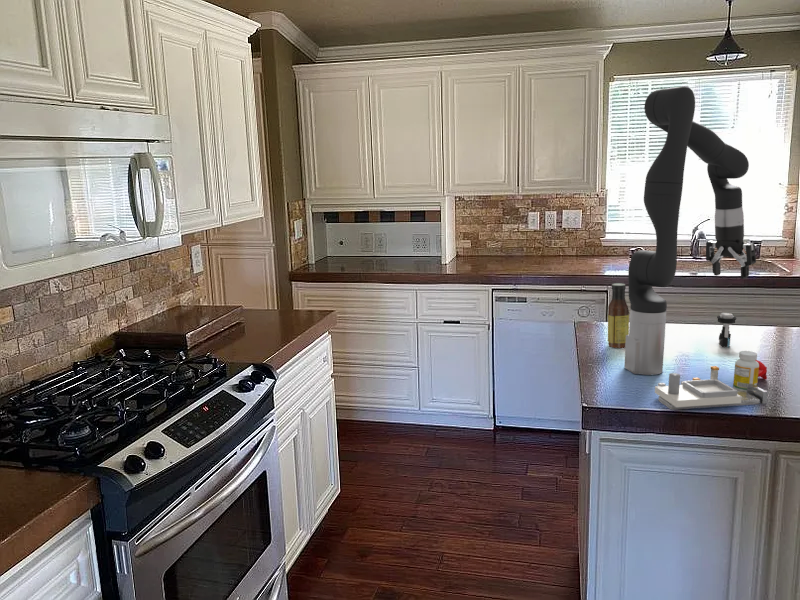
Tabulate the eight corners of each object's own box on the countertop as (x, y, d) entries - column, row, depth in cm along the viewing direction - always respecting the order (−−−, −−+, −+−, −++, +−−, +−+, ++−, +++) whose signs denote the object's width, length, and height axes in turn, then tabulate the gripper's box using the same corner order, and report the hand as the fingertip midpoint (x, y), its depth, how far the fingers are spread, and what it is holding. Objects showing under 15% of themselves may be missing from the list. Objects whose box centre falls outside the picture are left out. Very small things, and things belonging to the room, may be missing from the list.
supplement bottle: (739, 393, 164) (742, 356, 162) (728, 386, 169) (731, 350, 167) (761, 393, 164) (764, 355, 162) (750, 385, 169) (753, 349, 167)
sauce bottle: (631, 346, 207) (635, 283, 203) (622, 350, 202) (626, 286, 198) (612, 342, 211) (614, 281, 207) (602, 346, 207) (605, 284, 203)
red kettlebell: (753, 375, 167) (772, 361, 168) (735, 361, 172) (753, 348, 172) (755, 393, 172) (773, 380, 173) (737, 380, 177) (755, 367, 177)
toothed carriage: (676, 407, 152) (677, 381, 151) (652, 391, 163) (653, 367, 161) (741, 403, 154) (743, 378, 152) (713, 387, 164) (715, 363, 163)
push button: (712, 341, 210) (714, 311, 208) (730, 342, 209) (733, 311, 207) (717, 347, 204) (719, 315, 202) (735, 348, 203) (738, 316, 201)
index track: (671, 409, 154) (672, 384, 153) (647, 393, 165) (648, 369, 164) (766, 403, 157) (768, 379, 155) (736, 387, 168) (738, 364, 167)
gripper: (699, 224, 196) (701, 277, 200) (744, 226, 184) (746, 282, 188) (714, 219, 200) (716, 271, 204) (760, 221, 188) (761, 276, 192)
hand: (730, 276), depth 196 cm, fingers open, 8 cm apart
